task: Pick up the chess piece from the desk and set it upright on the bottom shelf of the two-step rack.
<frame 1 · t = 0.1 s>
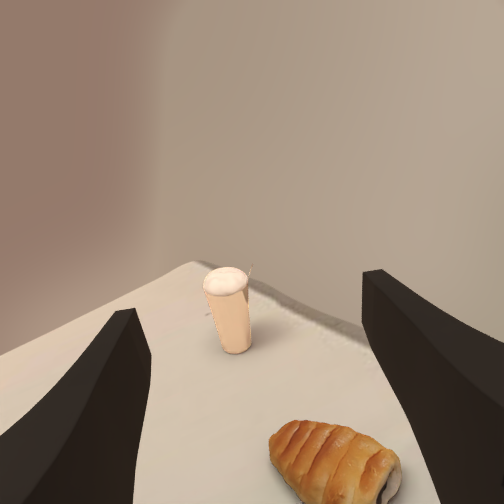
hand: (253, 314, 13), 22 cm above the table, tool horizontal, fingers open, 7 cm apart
pastry: (336, 484, 30), on the table
milkshake: (240, 345, 45), on the table
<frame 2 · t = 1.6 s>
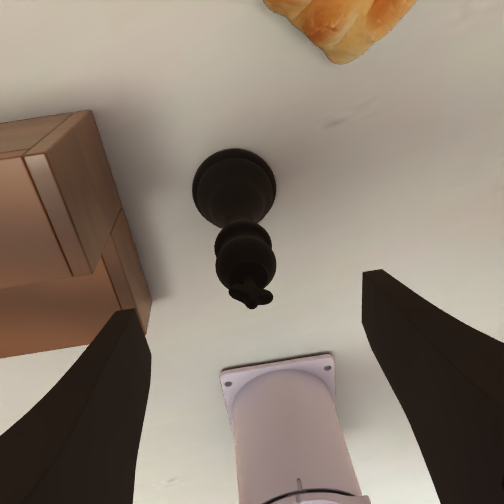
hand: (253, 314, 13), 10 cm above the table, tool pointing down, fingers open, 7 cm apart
step rack: (5, 237, 22), on the table
chess piece: (234, 187, 22), on the table
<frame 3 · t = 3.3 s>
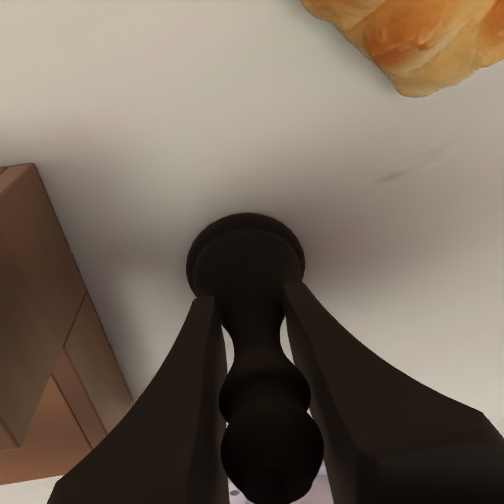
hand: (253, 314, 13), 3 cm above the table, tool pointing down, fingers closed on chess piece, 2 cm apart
chess piece: (245, 262, 16), on the table, touching gripper
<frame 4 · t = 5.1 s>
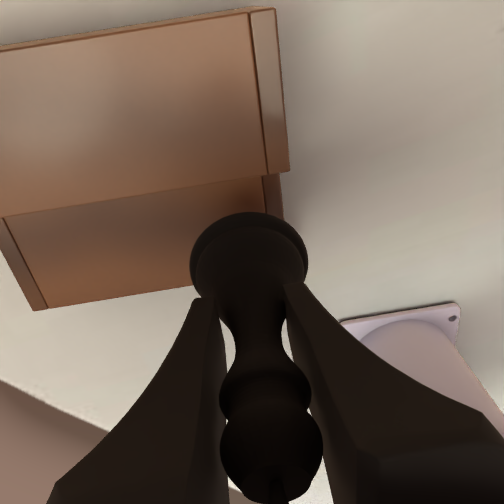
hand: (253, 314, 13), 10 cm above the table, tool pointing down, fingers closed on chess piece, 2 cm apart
step rack: (138, 161, 20), on the table
chess piece: (248, 260, 16), point 7 cm above the table, touching gripper
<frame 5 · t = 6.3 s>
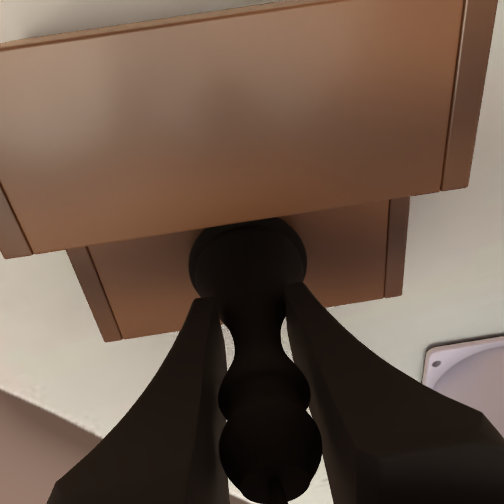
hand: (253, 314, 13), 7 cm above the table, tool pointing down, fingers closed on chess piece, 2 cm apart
step rack: (230, 169, 17), on the table
chess piece: (247, 260, 16), point 3 cm above the table, touching gripper
when the fingers open (6 cm above the table, at t = 6.7 s): chess piece stays where it is, resting on step rack.
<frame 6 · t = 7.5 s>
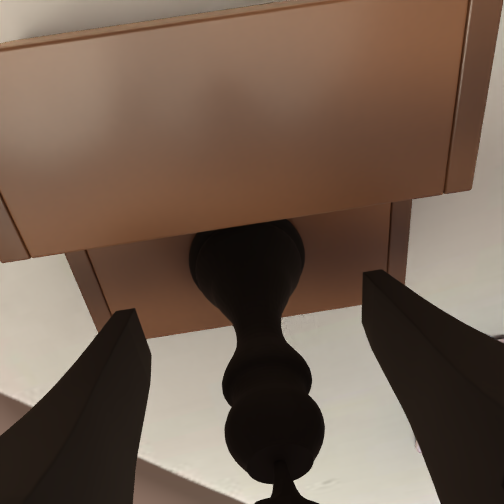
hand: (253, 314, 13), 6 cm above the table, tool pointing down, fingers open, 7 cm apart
step rack: (231, 170, 17), on the table
chess piece: (246, 254, 16), point 3 cm above the table, touching step rack
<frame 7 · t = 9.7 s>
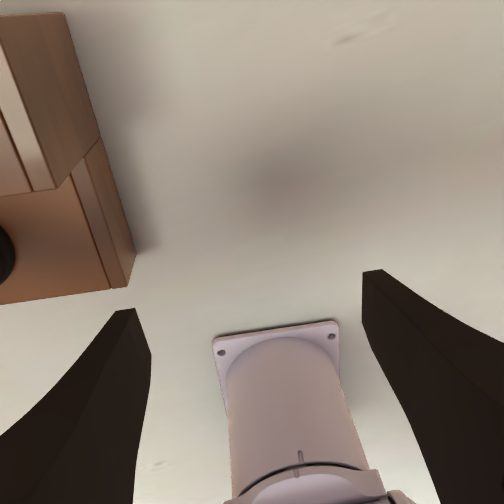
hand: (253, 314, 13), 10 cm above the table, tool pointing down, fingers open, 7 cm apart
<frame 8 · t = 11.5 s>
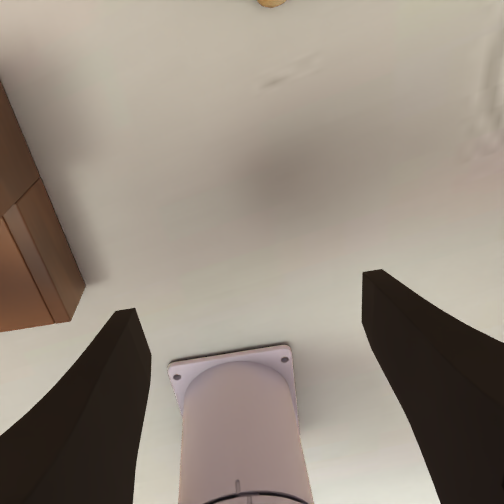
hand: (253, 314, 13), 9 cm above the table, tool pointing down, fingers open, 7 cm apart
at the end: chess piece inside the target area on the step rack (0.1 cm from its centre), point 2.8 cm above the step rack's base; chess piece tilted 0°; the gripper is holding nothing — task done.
